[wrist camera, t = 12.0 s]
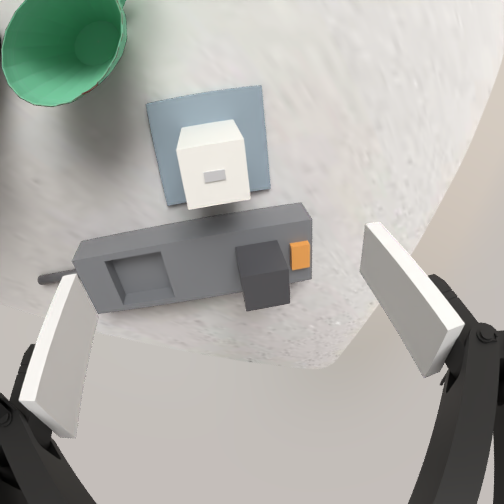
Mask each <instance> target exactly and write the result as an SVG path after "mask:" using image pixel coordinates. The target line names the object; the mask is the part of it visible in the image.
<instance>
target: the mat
mask: <svg viewBox="0 0 504 504" xmlns="http://www.w3.org/2000/svg"><path fill="white" fill-rule="evenodd" d="M146 107H147V113H148V118H149V123H150V128H151V133H152V138H153V143H154V148H155V152H156V157H157V162H158V166H159V171H160V175H161V179H162V184H163V188H164V192H165V197H166V201H167V205H168V206H169V205H174V204H180V203H185V202H187V201H186V196H185V192H184V187H183V182H182V177H181V172H180V167H179V162H178V157H177V152H176V149H177V145H178V140H179V136H180V132H181V128H183V127H188V126H194V125H200V124H206V123H212V122H218V121H225V120H232V119H233V120H234V122H235V124H236V125H237V127H238V129H239V131H240V133H241V135H242V136H243V138H244V144H245V153H246V161H247V170H248V179H249V188H250V192H251V191H258V190H265V189H271V188H270V176H269V164H268V152H267V140H266V129H265V118H264V107H263V96H262V86H261V85H259V86H249V87H240V88H232V89H225V90H218V91H211V92H204V93H198V94H192V95H187V96H181V97H176V98H171V99H166V100H161V101H156V102H152V103H147V104H146Z"/></svg>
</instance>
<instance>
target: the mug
mask: <svg viewBox="0 0 504 504" xmlns="http://www.w3.org/2000/svg"><path fill="white" fill-rule="evenodd" d="M125 1H126V0H25V1H24V2H23V3H22V4H21V5H20V7H19V8H18V9H17V10H16V11H15V13H14V15H13V17H12V19H11V21H10V22H9V24H8V26H7V28H6V31H5V35H4V39H3V43H2V48H1V59H2V70H3V72H4V75H5V78H6V80H7V83H8V85H9V86H10V87H11V89H12V90H13V91H14V92H15V93H16V94H17V95H18V97H19V98H21V99H23V100H25V101H27V102H29V103H31V104H33V105H36V106H46V107H54V106H59V105H63V104H67V103H71V102H74V101H75V100H77V99H78V98H80V97H82V96H83V95H85V94H87V93H88V92H90V91H91V90H93V89H94V88H95V87H96V86H98V85H99V84H100V83H101V82H102V81H103V80H104V79H105V78H106V77H107V76H108V75H109V74H110V73H111V71H112V70H113V69H114V67H115V66H116V64H117V62H118V61H119V59H120V58H121V56H122V54H123V50H124V47H125V43H126V40H127V27H126V16H125V14H124V11H123V6H124V4H125Z"/></svg>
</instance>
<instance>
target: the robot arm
mask: <svg viewBox="0 0 504 504" xmlns="http://www.w3.org/2000/svg"><path fill="white" fill-rule="evenodd" d="M360 273H361V275H362V276H363V278H364V279H365V281H366V282H367V284H368V286H369V287H370V289H371V290H372V292H373V293H374V295H375V297H376V298H377V300H378V301H379V303H380V304H381V306H382V308H383V309H384V311H385V313H386V314H387V316H388V317H389V319H390V321H391V322H392V324H393V326H394V327H395V329H396V331H397V332H398V334H399V336H400V337H401V339H402V341H403V342H404V344H405V346H406V347H407V349H408V351H409V353H410V354H411V356H412V358H413V360H414V361H415V363H416V365H417V367H418V368H419V370H420V372H421V374H422V376H423V377H424V378H426V377H428V376H431V375H433V374H435V373H438V372H440V370H441V368H442V367H443V365H444V363H446V365H447V367H448V368H449V369H448V371H447V373H446V374H445V376H444V378H443V379H442V381H441V383H440V385H443V383H444V382H445V383H444V388H443V393H442V397H441V402H440V406H439V410H438V414H437V419H436V422H435V426H434V430H433V433H432V436H431V440H430V443H429V446H428V450H427V453H426V456H425V459H424V462H423V465H422V468H421V471H420V474H419V477H418V480H417V482H416V485H415V487H414V490H413V493H412V495H411V498H410V500H409V503H408V504H477V501H478V498H479V494H480V490H481V486H482V483H483V479H484V475H485V471H486V466H487V462H488V457H489V451H490V446H491V441H492V435H493V436H494V498H493V504H504V331H496V329H494V328H493V327H492V326H491V325H488V324H486V323H478V322H477V320H476V319H475V318H474V317H473V315H472V314H471V313H470V311H469V310H468V309H467V308H466V307H465V305H464V304H463V303H462V301H461V300H460V299H459V298H457V295H456V294H455V293H454V291H452V289H451V288H450V287H449V286H448V284H447V283H446V282H445V281H444V280H443V279H441V278H440V277H438V276H437V275H435V274H433V275H429V276H427V275H426V274H425V272H424V271H423V270H422V269H421V268H420V266H419V265H418V264H417V263H416V262H415V261H414V260H413V258H412V257H411V256H410V255H409V254H408V252H407V251H406V250H405V249H404V248H403V247H402V246H401V244H400V243H399V242H398V241H397V240H396V239H395V238H394V237H393V235H392V234H391V233H390V232H389V231H388V230H387V229H386V228H385V227H384V226H383V225H382V223H381V222H374V223H368V224H365V231H364V240H363V249H362V257H361V265H360ZM97 321H98V315H97V313H96V311H95V309H94V307H93V305H92V303H91V302H90V300H89V298H88V296H87V294H86V292H85V290H84V288H83V286H82V284H81V282H80V280H79V278H78V276H77V273H76V274H71V275H65V276H63V277H62V279H61V281H60V284H59V286H58V288H57V291H56V293H55V295H54V298H53V300H52V303H51V305H50V308H49V310H48V313H47V315H46V318H45V320H44V323H43V326H42V328H41V331H40V334H39V336H38V339H37V342H36V344H31V345H30V347H29V348H28V349H27V351H26V352H25V353H24V356H23V359H22V362H21V366H20V368H19V371H18V375H17V377H16V380H15V384H14V387H13V390H12V394H11V397H10V401H8V399H7V398H6V397H5V396H4V395H3V394H2V393H0V504H96V502H95V501H94V500H93V498H92V497H91V496H90V494H89V493H88V492H87V490H86V489H85V487H84V486H83V485H82V483H81V482H80V480H79V479H78V477H77V476H76V475H75V473H74V471H73V470H72V468H71V467H70V465H69V464H68V462H67V461H66V459H65V457H64V456H63V454H62V453H61V451H60V449H59V448H58V446H57V444H56V443H55V441H54V440H53V439H52V438H51V434H52V431H53V432H54V433H56V434H57V435H58V436H59V437H62V438H76V433H77V426H78V419H79V411H80V405H81V399H82V393H83V388H84V382H85V377H86V371H87V366H88V361H89V357H90V352H91V347H92V343H93V338H94V334H95V330H96V326H97Z"/></svg>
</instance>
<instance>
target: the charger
mask: <svg viewBox="0 0 504 504" xmlns="http://www.w3.org/2000/svg"><path fill="white" fill-rule="evenodd" d="M176 152H177V157H178V162H179V167H180V172H181V177H182V182H183V187H184V192H185V196H186V201H187V206H188V210H191V209H197V208H202V207H208V206H214V205H220V204H226V203H232V202H238V201H244V200H250V199H251V196H250V188H249V179H248V170H247V161H246V153H245V144H244V138H243V136H242V135H241V133H240V131H239V129H238V127H237V125H236V124H235V122H234V120H233V119H232V120H225V121H218V122H212V123H206V124H200V125H194V126H188V127H183V128H181V132H180V136H179V140H178V145H177V149H176Z"/></svg>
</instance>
